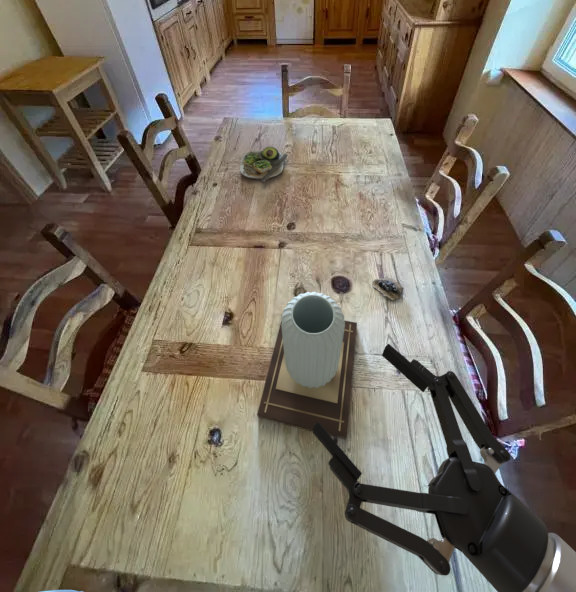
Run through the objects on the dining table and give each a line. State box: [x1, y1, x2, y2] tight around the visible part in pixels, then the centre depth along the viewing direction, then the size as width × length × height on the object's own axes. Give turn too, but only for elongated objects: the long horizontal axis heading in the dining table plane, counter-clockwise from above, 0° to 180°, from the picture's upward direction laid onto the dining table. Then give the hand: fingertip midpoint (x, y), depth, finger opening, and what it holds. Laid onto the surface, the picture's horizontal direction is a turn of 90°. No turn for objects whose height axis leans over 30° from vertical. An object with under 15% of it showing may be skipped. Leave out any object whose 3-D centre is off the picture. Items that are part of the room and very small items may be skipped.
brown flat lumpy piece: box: [372, 277, 405, 301], centre depth 89 cm, size 7×8×2 cm
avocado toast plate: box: [239, 146, 288, 183], centre depth 128 cm, size 19×18×5 cm
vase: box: [280, 291, 346, 388], centre depth 67 cm, size 12×12×22 cm
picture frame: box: [256, 319, 358, 440], centre depth 76 cm, size 24×18×2 cm
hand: (352, 385), depth 44 cm, fingers open, 13 cm apart
